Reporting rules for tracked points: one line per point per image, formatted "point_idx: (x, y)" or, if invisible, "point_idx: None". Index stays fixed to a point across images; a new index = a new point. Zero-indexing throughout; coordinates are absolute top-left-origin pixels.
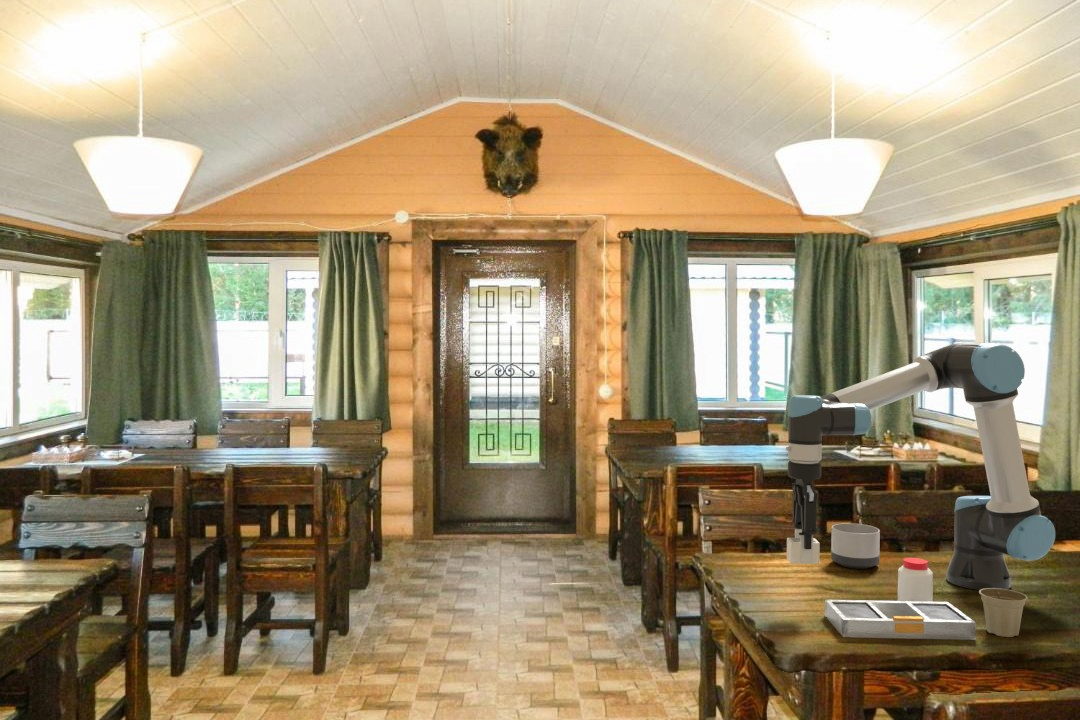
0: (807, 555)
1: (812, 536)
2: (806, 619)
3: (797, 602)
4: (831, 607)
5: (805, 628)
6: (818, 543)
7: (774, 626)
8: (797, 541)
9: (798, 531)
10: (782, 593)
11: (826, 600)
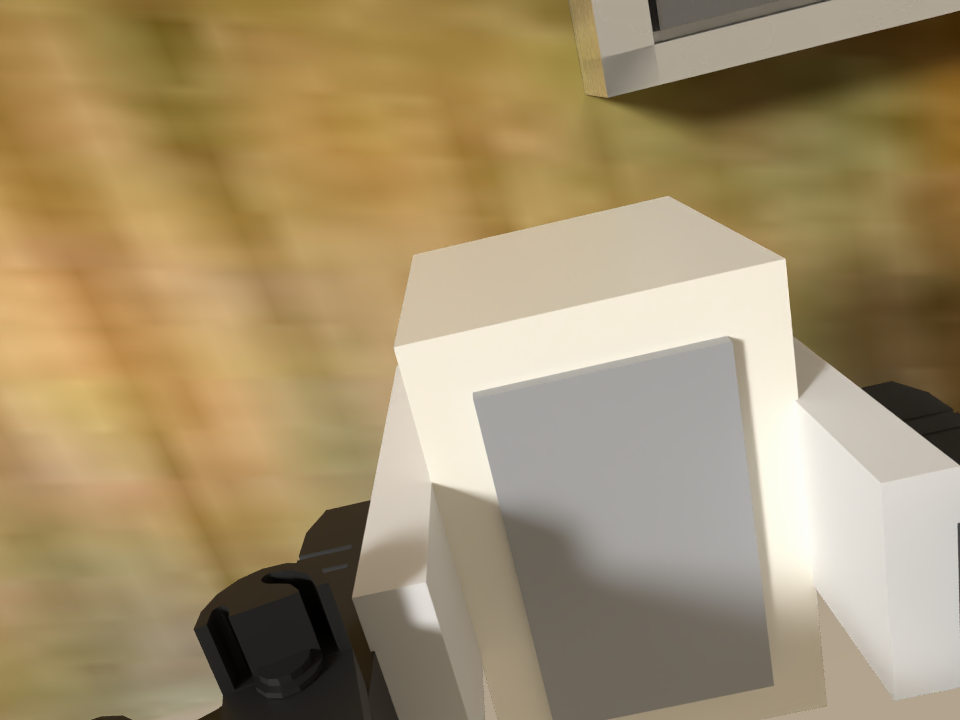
0: None
1: (944, 459)
2: None
3: (322, 285)
4: (797, 50)
5: (882, 237)
6: (783, 278)
7: None
8: (766, 629)
9: (476, 707)
10: (142, 387)
11: (632, 86)
